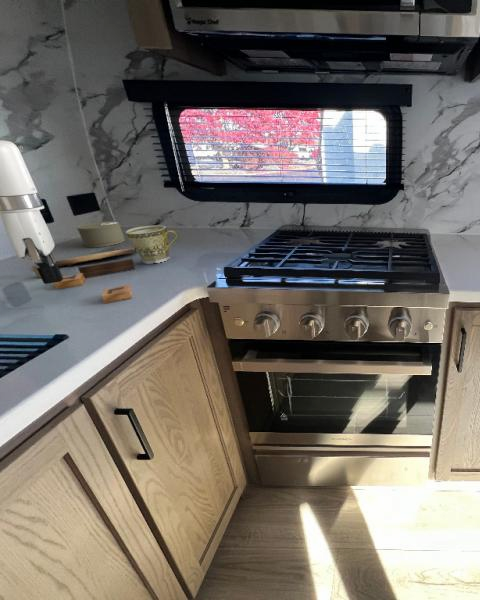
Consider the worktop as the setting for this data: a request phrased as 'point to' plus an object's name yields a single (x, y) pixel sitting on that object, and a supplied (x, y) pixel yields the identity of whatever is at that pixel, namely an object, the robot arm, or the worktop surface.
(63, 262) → the wooden board
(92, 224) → the olive green bowl
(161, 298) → the worktop surface
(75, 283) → the tile
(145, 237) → the ceramic cup
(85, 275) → the dark brown wooden block
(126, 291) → the tile
